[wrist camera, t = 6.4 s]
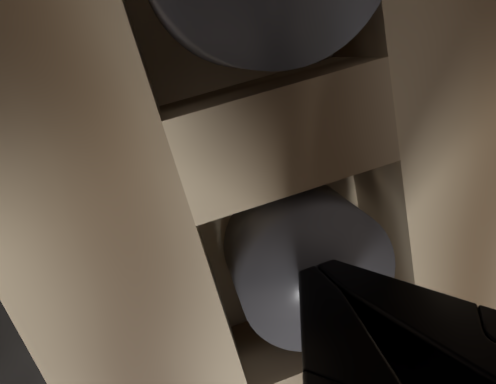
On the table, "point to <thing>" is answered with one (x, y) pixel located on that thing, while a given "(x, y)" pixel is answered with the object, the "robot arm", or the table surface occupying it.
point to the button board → (224, 177)
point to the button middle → (263, 29)
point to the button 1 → (297, 255)
